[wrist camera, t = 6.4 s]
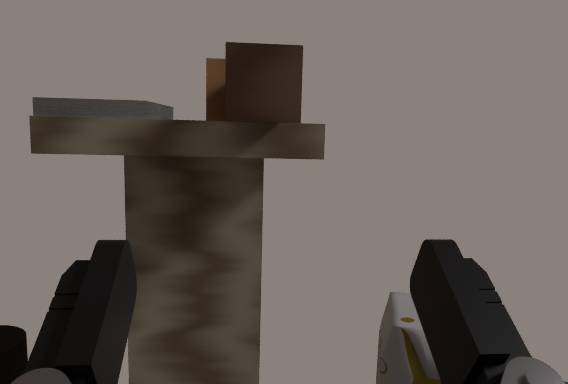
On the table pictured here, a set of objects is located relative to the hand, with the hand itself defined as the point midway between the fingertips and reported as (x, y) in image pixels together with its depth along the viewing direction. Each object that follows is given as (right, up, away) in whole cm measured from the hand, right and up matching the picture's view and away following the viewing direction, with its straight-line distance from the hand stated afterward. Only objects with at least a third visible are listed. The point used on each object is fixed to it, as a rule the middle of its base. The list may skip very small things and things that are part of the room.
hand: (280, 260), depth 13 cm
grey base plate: (-11, +7, +18) cm, 22 cm away
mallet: (-2, +6, +13) cm, 15 cm away
